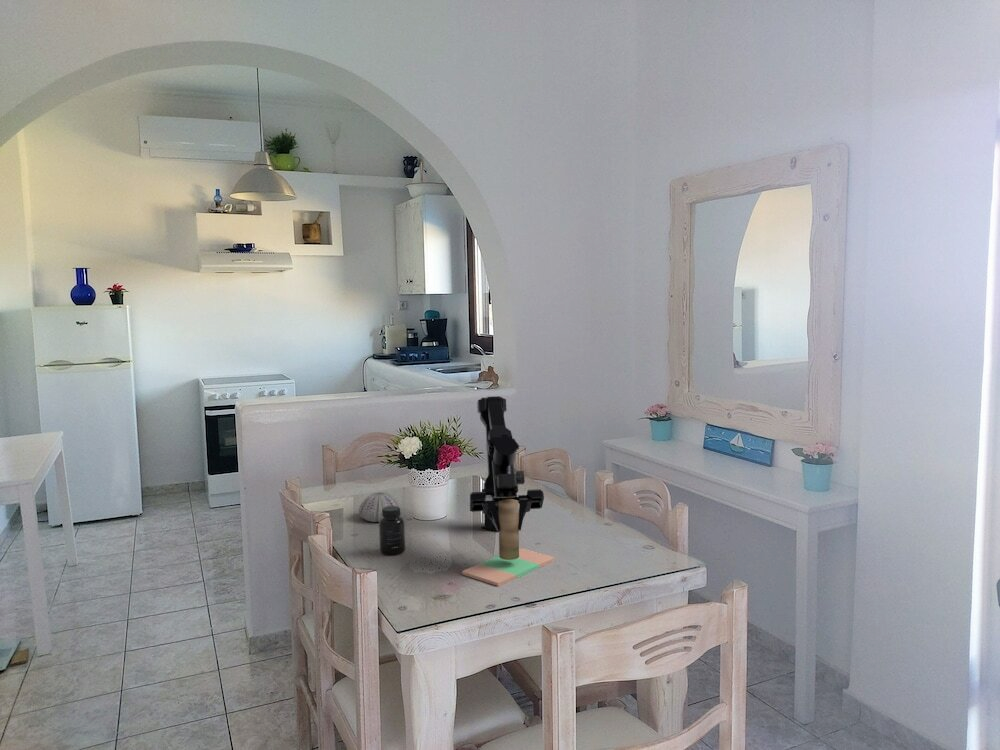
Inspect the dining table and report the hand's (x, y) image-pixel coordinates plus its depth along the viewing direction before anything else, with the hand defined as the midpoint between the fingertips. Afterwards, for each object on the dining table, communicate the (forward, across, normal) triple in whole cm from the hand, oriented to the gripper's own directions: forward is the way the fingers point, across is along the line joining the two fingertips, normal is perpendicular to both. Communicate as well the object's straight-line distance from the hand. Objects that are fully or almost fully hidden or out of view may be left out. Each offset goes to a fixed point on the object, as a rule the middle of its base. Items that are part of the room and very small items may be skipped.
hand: (509, 530), depth 181 cm
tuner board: (+6, 0, +8) cm, 10 cm away
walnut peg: (+4, 0, +6) cm, 7 cm away
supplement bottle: (-5, -30, +19) cm, 36 cm away
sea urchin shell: (-27, -35, +42) cm, 61 cm away
